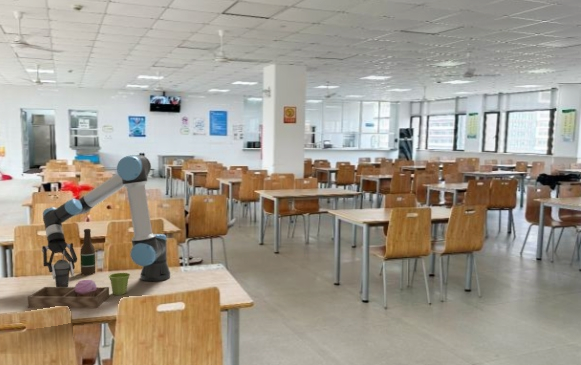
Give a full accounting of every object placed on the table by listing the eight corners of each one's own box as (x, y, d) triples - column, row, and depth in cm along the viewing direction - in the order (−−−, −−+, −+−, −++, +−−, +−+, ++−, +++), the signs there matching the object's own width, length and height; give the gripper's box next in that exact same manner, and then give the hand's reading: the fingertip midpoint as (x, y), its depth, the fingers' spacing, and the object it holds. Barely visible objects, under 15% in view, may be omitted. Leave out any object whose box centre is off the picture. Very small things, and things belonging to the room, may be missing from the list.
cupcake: (70, 303, 214) (70, 281, 213) (85, 298, 222) (85, 276, 221) (86, 306, 210) (86, 283, 210) (101, 300, 219) (100, 278, 218)
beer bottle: (98, 273, 264) (97, 229, 262) (84, 276, 258) (83, 231, 256) (92, 270, 269) (91, 227, 267) (77, 273, 263) (76, 229, 261)
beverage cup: (57, 290, 233) (56, 248, 231) (73, 289, 234) (72, 248, 232) (51, 294, 226) (50, 252, 224) (67, 294, 226) (66, 252, 225)
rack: (109, 296, 224) (109, 287, 223) (97, 307, 209) (96, 297, 208) (45, 296, 223) (44, 286, 223) (28, 307, 208) (27, 297, 208)
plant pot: (108, 291, 232) (108, 273, 231) (129, 289, 235) (129, 271, 235) (109, 297, 223) (108, 278, 223) (130, 295, 227) (130, 276, 226)
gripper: (76, 238, 246) (85, 277, 234) (31, 242, 234) (38, 283, 223) (78, 229, 241) (87, 268, 230) (33, 233, 230) (40, 275, 218)
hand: (63, 276), depth 226 cm, fingers closed on beverage cup, 7 cm apart
